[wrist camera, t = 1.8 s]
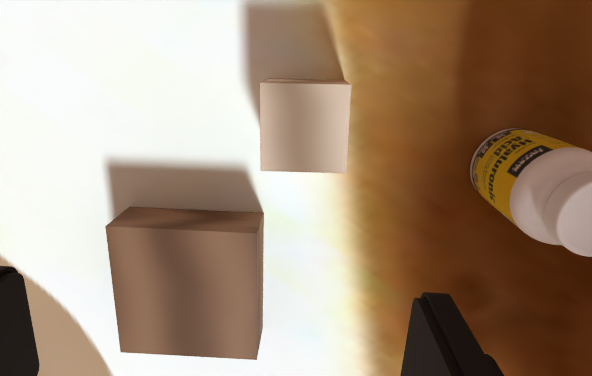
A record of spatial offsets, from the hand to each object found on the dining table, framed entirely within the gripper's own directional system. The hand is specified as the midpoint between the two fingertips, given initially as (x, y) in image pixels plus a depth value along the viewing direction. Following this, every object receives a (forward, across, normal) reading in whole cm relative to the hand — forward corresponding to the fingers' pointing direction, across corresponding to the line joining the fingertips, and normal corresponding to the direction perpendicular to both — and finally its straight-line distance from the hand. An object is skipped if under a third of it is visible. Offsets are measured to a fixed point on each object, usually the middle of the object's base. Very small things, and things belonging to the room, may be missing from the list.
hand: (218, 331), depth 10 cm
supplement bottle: (+20, -16, 0) cm, 25 cm away
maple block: (+20, -2, -2) cm, 20 cm away
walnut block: (+20, +6, +10) cm, 23 cm away
